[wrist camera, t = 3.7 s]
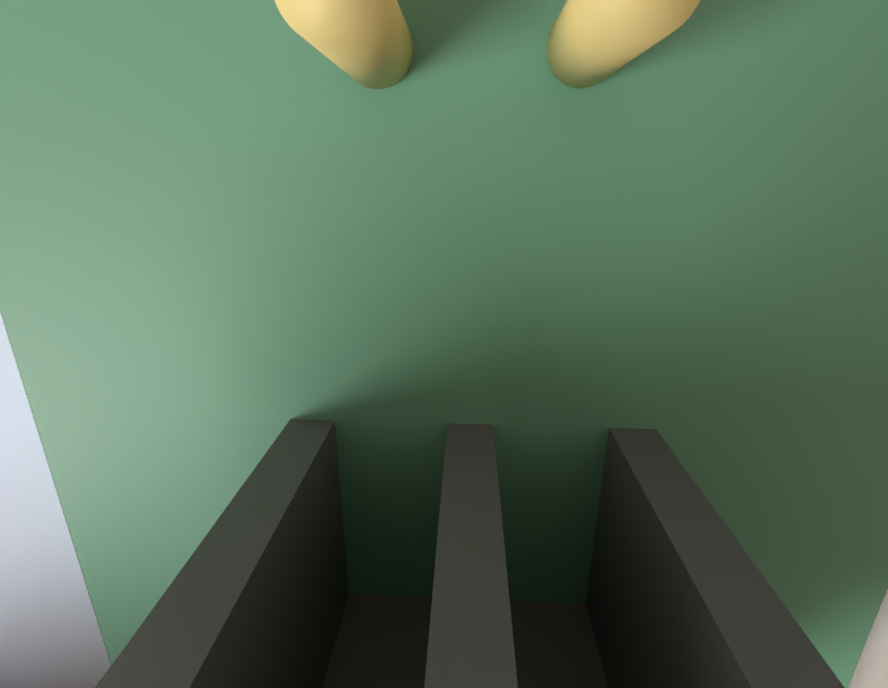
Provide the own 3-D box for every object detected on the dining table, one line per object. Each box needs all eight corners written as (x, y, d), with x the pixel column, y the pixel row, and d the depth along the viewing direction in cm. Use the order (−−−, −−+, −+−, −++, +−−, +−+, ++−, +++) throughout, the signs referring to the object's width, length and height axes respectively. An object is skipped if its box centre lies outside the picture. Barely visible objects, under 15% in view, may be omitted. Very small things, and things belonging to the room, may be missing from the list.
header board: (1277, -612, 5) (2645, -1939, 2) (795, 721, 12) (915, 921, 9) (-192, -518, 6) (-989, -1349, 3) (149, 686, 12) (41, 859, 9)
